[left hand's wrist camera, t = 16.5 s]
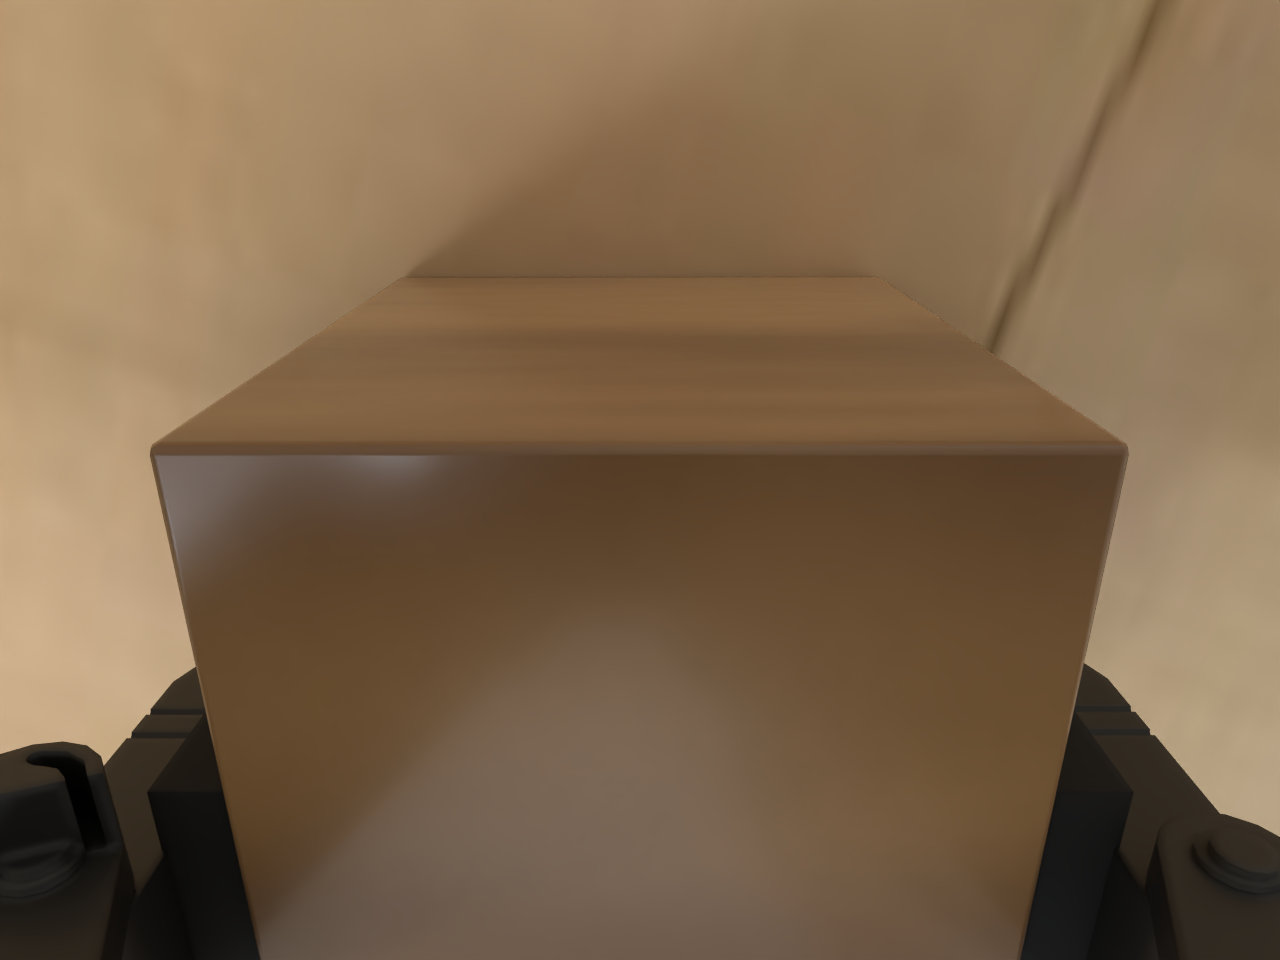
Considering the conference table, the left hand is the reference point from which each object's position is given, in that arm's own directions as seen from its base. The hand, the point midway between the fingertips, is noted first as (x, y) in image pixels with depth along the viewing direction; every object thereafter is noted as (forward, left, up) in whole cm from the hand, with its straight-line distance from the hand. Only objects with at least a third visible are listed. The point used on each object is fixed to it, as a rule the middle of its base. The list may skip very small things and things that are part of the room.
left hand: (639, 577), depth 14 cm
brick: (0, 0, -1) cm, 1 cm away
